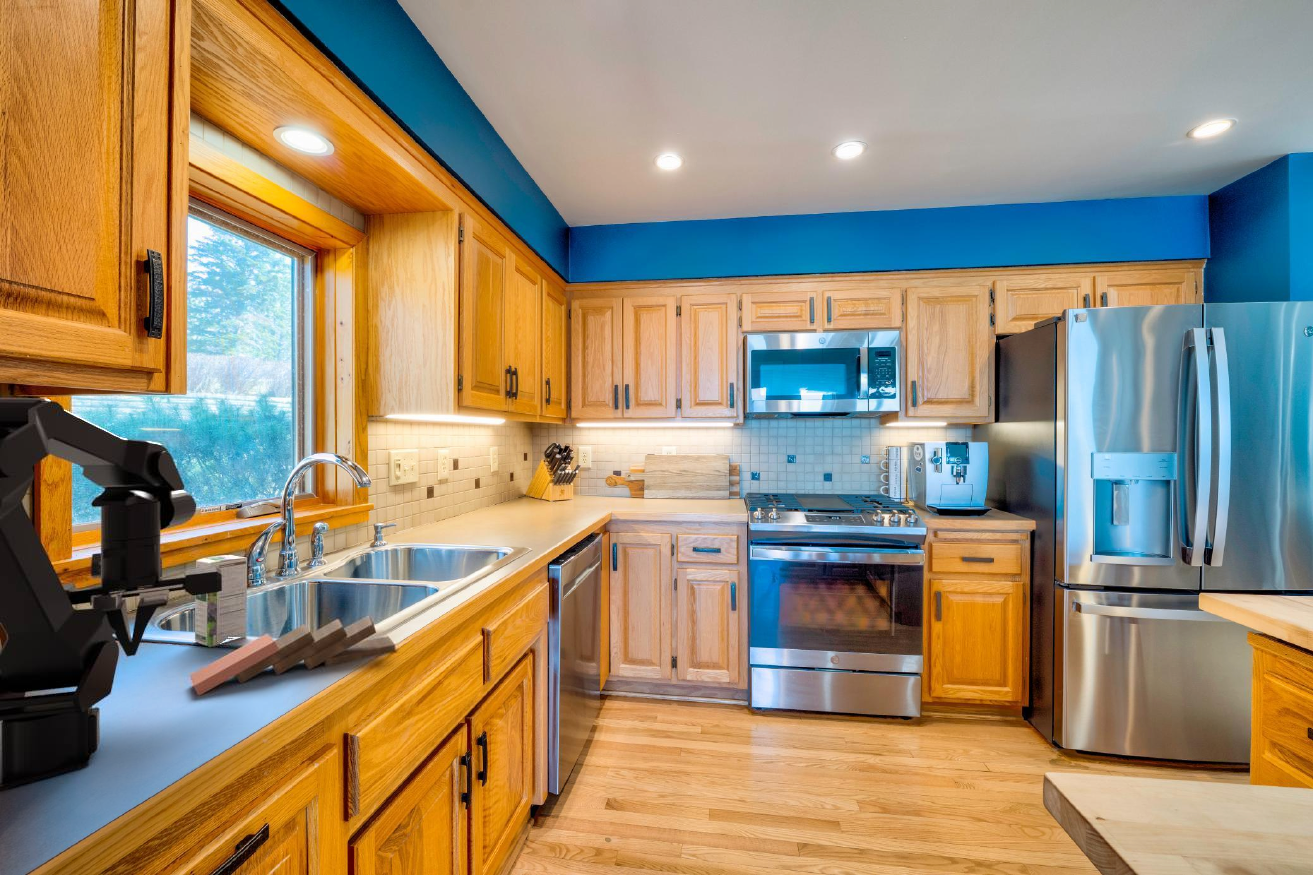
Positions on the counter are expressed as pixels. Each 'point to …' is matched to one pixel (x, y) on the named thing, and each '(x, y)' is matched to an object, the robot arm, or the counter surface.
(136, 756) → the counter surface
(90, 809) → the counter surface
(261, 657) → the domino
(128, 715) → the counter surface
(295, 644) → the domino
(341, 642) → the domino
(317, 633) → the domino
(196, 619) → the syrup box
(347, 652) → the domino
